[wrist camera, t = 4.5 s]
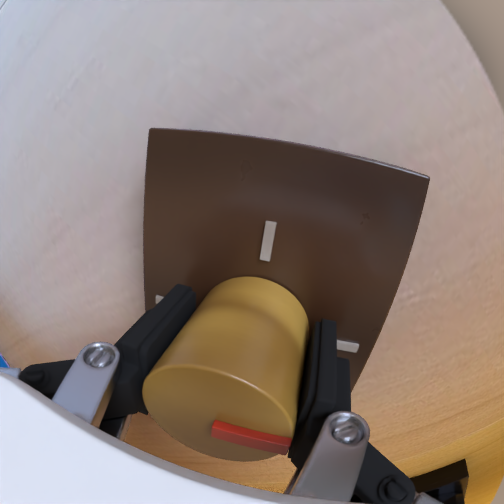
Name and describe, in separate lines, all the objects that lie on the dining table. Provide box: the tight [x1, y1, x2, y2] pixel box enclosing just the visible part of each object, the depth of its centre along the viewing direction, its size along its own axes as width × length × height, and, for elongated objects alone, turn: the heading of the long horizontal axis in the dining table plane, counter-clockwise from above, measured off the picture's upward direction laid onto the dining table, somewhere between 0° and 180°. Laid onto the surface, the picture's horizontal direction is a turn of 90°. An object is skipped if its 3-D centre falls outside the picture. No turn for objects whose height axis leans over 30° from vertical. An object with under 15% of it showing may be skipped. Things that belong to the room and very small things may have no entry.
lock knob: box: [142, 277, 309, 462], centre depth 9 cm, size 4×4×5 cm
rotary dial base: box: [143, 128, 430, 392], centre depth 13 cm, size 14×10×3 cm
